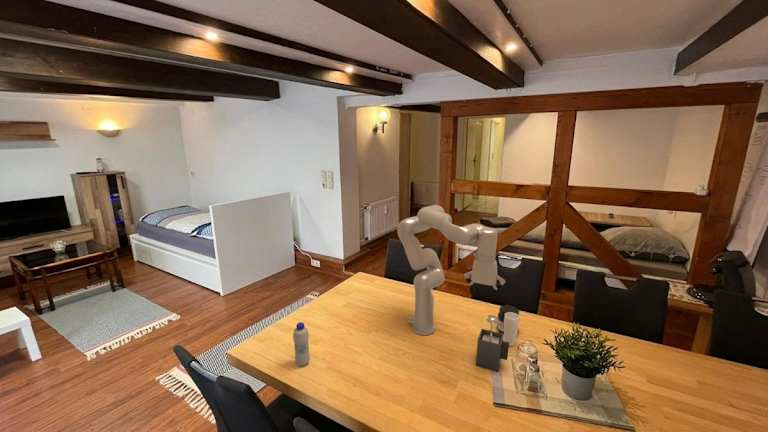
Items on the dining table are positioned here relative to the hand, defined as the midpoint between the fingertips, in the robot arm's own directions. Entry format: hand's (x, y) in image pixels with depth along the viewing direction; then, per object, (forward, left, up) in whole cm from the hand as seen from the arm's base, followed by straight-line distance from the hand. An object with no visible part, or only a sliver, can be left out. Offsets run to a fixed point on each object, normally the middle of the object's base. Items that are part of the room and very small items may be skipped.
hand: (482, 294), depth 144 cm
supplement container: (+10, +30, -32) cm, 45 cm away
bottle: (-70, -36, -32) cm, 85 cm away
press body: (+6, 0, -32) cm, 33 cm away
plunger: (+5, 0, -21) cm, 22 cm away
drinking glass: (+12, +19, -32) cm, 39 cm away
